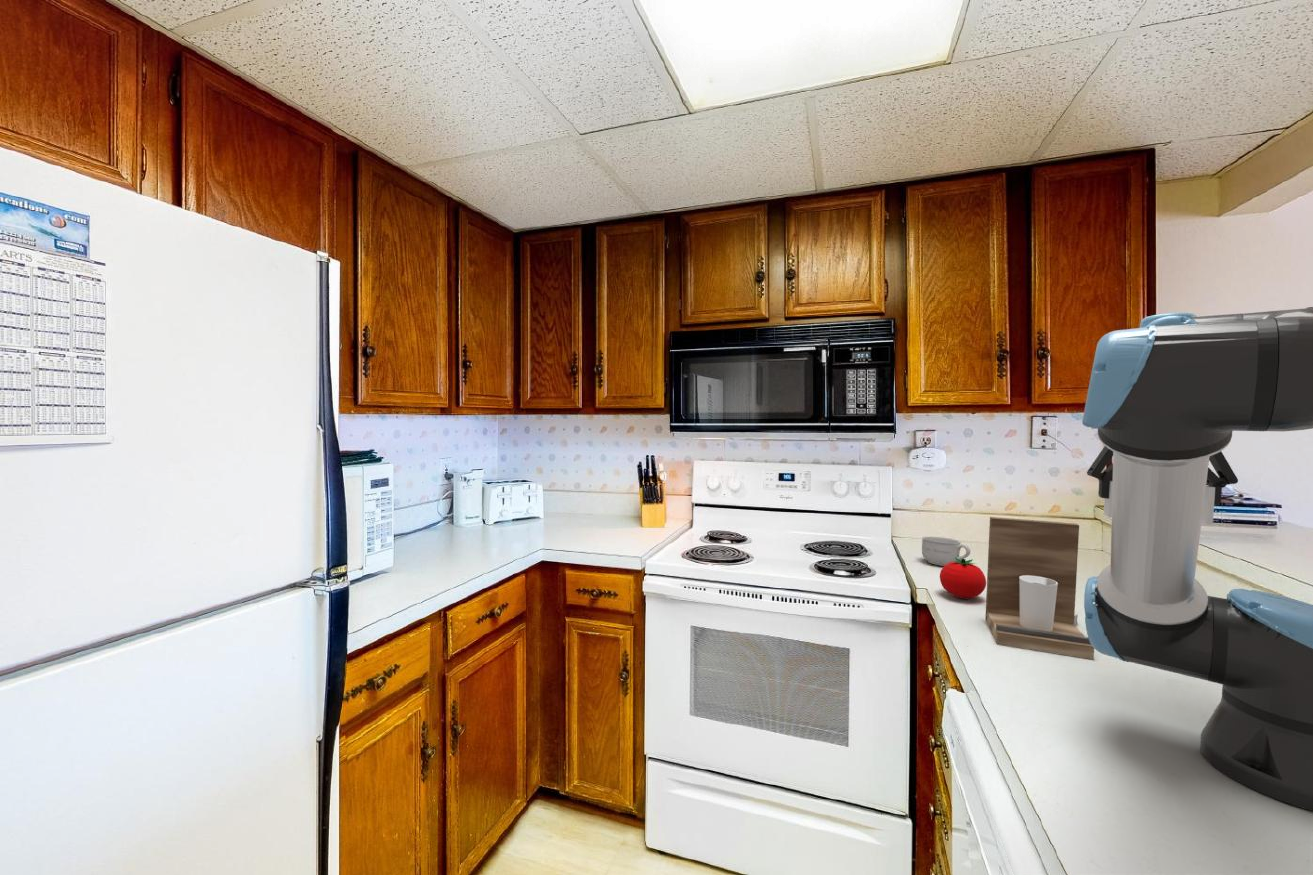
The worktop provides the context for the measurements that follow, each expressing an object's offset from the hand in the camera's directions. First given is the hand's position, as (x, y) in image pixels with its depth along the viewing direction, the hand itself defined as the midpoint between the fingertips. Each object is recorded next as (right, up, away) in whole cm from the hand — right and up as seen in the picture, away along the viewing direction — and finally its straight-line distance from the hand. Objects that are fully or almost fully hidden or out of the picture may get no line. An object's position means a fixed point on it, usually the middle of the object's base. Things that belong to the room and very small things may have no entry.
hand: (1155, 519), depth 96 cm
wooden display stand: (-10, -28, +17) cm, 34 cm away
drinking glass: (-10, -25, +16) cm, 32 cm away
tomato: (-12, -27, +41) cm, 50 cm away
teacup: (0, -25, +70) cm, 74 cm away
